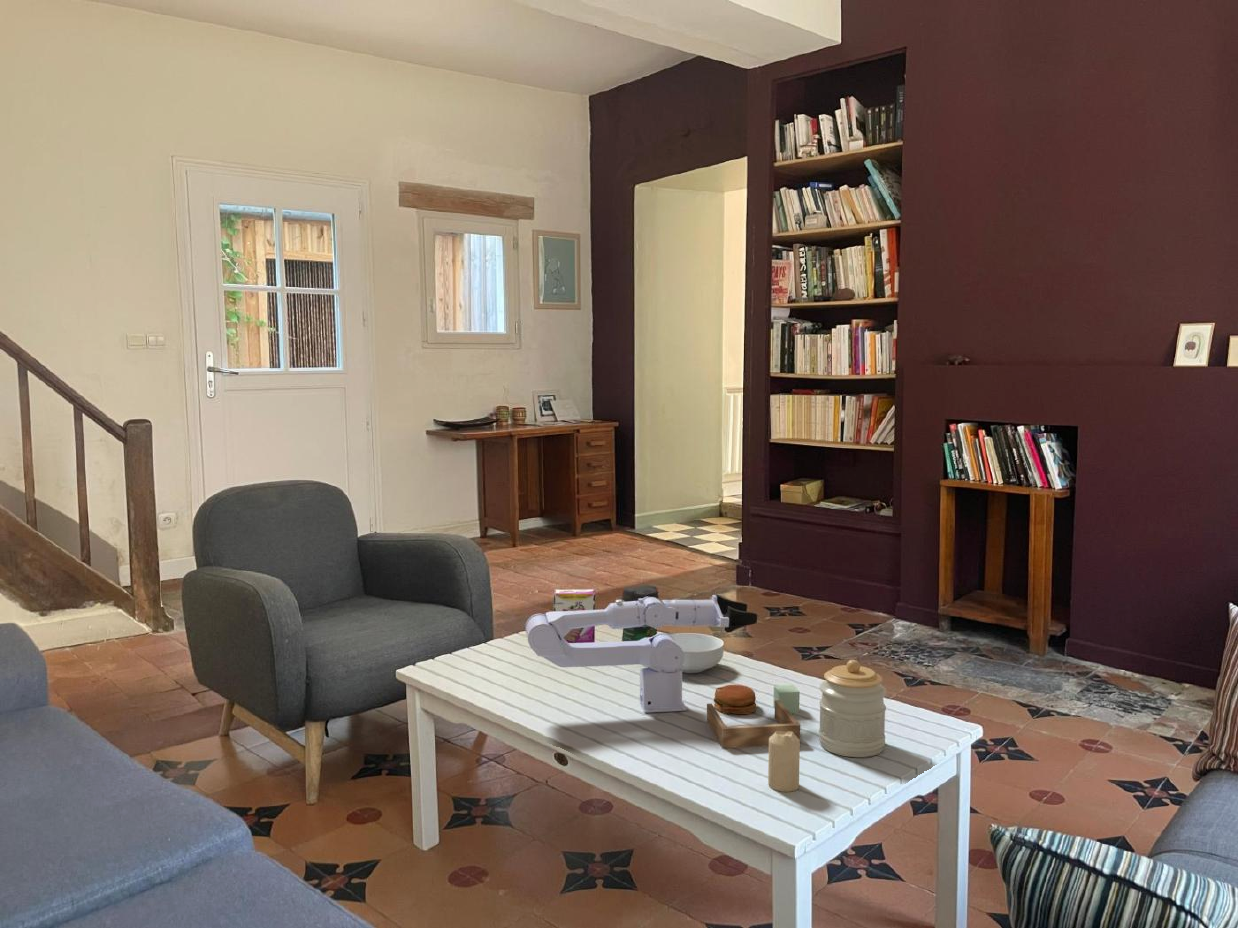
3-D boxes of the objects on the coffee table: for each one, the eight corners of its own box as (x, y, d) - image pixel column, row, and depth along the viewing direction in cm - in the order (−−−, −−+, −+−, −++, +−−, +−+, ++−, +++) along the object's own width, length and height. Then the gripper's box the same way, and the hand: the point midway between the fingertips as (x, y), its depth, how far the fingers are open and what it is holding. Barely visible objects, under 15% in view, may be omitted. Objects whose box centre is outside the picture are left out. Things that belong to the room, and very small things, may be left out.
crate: (722, 748, 188) (722, 728, 188) (706, 721, 203) (706, 703, 202) (800, 744, 190) (800, 724, 190) (779, 717, 205) (779, 700, 204)
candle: (795, 778, 174) (796, 726, 173) (802, 791, 169) (803, 737, 168) (765, 779, 174) (766, 726, 173) (771, 792, 169) (772, 738, 168)
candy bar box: (553, 653, 252) (553, 593, 250) (553, 648, 256) (553, 589, 255) (595, 652, 252) (595, 592, 251) (594, 647, 257) (594, 588, 256)
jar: (899, 750, 187) (901, 663, 185) (850, 763, 181) (852, 674, 179) (852, 728, 198) (854, 647, 197) (805, 740, 192) (806, 656, 190)
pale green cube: (779, 714, 207) (779, 692, 206) (773, 707, 211) (773, 685, 211) (799, 713, 207) (799, 691, 207) (792, 706, 212) (793, 684, 211)
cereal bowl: (710, 682, 228) (710, 654, 227) (647, 673, 235) (647, 645, 234) (732, 663, 243) (733, 636, 242) (673, 655, 250) (673, 629, 250)
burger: (762, 714, 207) (762, 693, 207) (721, 717, 205) (721, 696, 205) (747, 699, 217) (747, 679, 216) (708, 702, 215) (708, 682, 215)
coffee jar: (635, 661, 244) (635, 591, 243) (616, 654, 251) (616, 585, 249) (663, 654, 250) (663, 586, 249) (644, 647, 257) (644, 580, 255)
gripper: (702, 604, 203) (762, 605, 206) (686, 586, 218) (743, 587, 220) (699, 636, 204) (760, 636, 207) (684, 616, 218) (741, 617, 221)
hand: (751, 613), depth 213 cm, fingers open, 7 cm apart
